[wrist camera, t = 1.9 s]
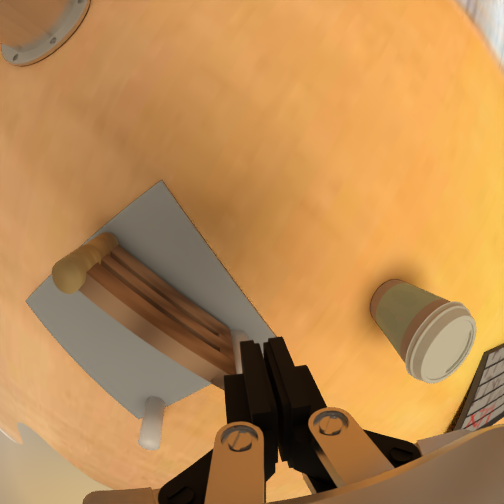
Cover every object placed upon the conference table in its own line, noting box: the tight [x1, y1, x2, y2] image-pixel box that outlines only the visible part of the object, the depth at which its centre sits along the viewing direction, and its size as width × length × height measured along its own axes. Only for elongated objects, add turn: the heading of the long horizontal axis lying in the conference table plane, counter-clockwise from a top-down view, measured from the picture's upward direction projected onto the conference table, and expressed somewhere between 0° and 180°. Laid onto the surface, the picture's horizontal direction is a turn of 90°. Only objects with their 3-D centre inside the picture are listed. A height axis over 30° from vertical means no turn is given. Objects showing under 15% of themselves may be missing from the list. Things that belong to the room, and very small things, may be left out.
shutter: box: [453, 344, 504, 432], centre depth 46 cm, size 32×7×31 cm
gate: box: [52, 232, 237, 391], centre depth 23 cm, size 16×2×9 cm, turn 48°
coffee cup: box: [370, 279, 476, 383], centre depth 27 cm, size 8×9×12 cm
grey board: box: [26, 180, 276, 450], centre depth 24 cm, size 24×22×11 cm
